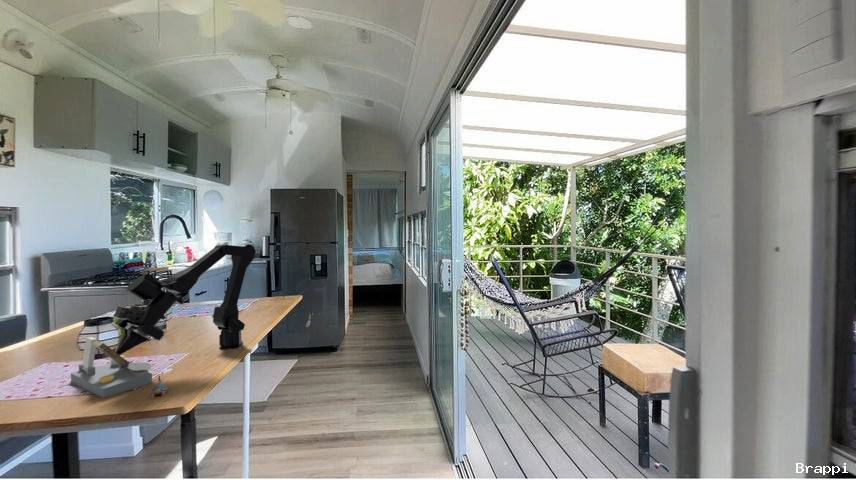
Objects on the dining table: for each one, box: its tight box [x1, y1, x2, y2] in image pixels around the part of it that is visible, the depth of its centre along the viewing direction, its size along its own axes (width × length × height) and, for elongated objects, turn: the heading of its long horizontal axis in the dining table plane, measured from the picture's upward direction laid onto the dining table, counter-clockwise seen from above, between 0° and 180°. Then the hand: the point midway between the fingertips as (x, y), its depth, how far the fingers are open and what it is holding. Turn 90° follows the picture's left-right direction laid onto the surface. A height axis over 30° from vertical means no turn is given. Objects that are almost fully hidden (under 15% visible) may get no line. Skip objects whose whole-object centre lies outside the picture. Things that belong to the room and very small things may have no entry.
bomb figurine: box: [149, 375, 169, 399], centre depth 94 cm, size 8×8×6 cm
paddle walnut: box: [92, 340, 130, 367], centre depth 102 cm, size 1×4×11 cm
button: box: [110, 354, 125, 366], centre depth 109 cm, size 3×3×2 cm
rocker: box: [128, 361, 152, 371], centre depth 102 cm, size 4×4×1 cm
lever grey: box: [81, 336, 98, 369], centre depth 103 cm, size 1×4×8 cm, turn 61°
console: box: [70, 358, 153, 399], centre depth 102 cm, size 11×22×4 cm, turn 61°
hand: (116, 354), depth 103 cm, fingers closed, pressing on paddle walnut
